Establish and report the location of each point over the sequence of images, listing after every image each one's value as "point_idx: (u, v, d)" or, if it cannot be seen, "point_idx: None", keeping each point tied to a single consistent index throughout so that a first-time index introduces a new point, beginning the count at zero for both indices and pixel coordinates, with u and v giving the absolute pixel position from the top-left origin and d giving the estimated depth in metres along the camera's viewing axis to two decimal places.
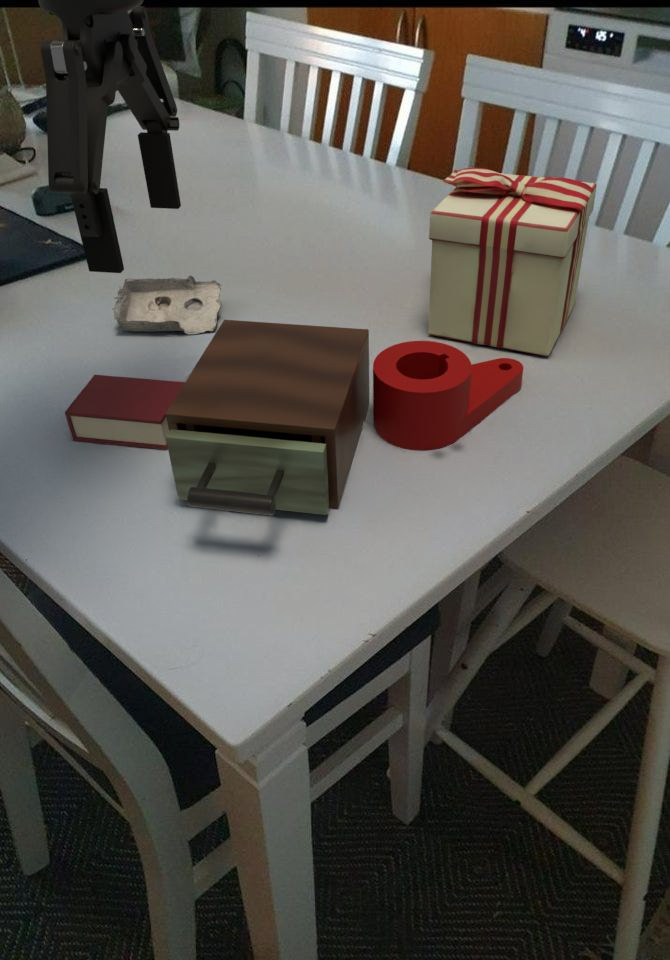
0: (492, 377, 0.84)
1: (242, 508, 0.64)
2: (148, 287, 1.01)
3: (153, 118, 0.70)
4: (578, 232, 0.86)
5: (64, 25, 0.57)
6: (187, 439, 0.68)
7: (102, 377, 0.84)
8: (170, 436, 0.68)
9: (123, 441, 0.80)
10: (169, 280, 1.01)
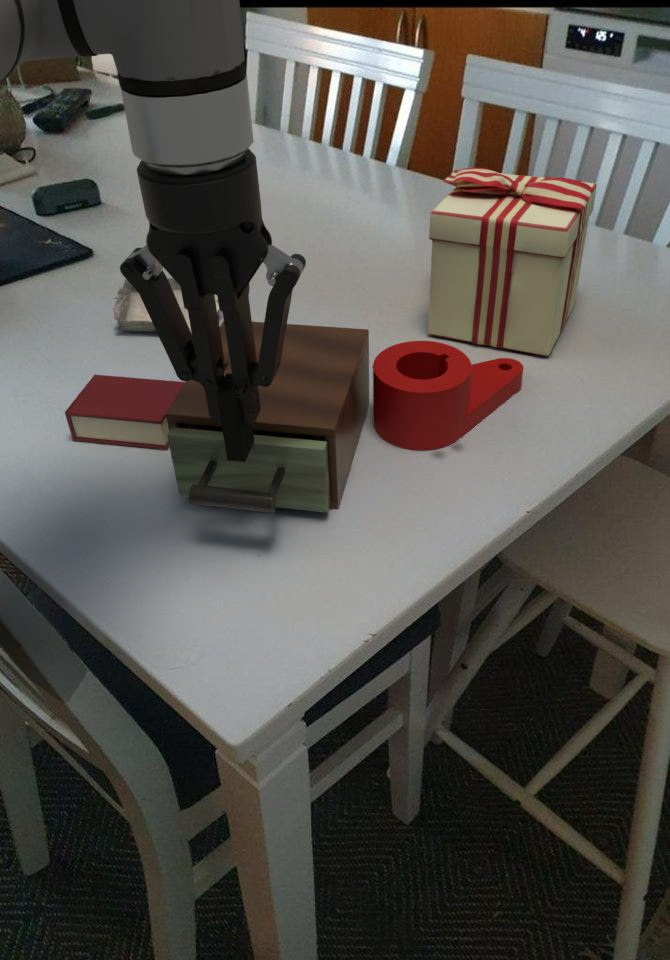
0: (492, 377, 0.84)
1: (243, 506, 0.65)
2: None
3: (220, 355, 0.61)
4: (578, 232, 0.86)
5: (257, 227, 0.52)
6: (188, 437, 0.68)
7: (102, 377, 0.84)
8: (171, 434, 0.68)
9: (123, 441, 0.80)
10: (169, 280, 1.01)
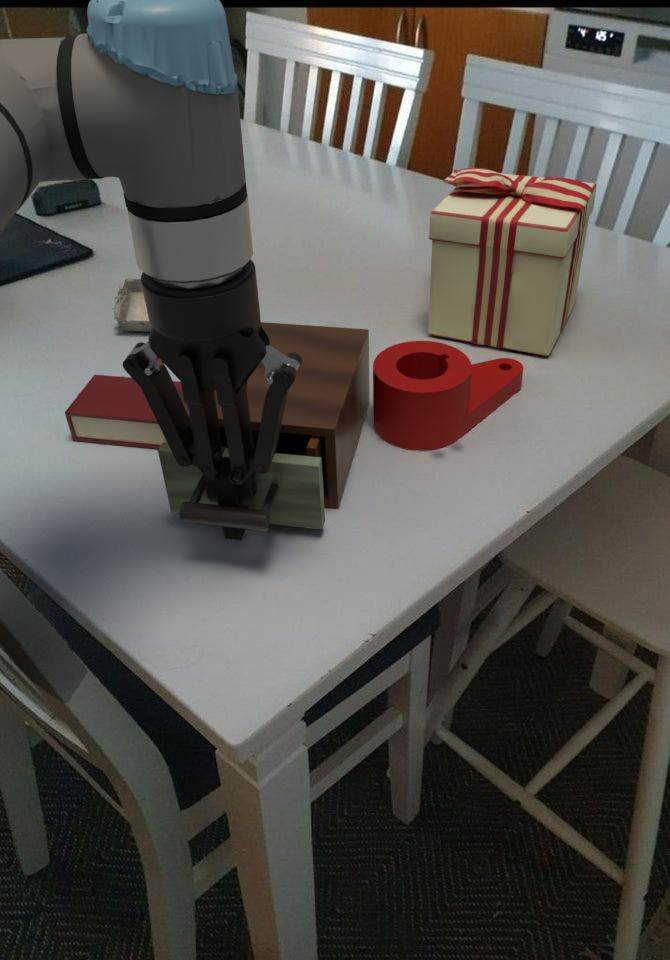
0: (492, 377, 0.84)
1: (236, 524, 0.63)
2: None
3: (218, 441, 0.63)
4: (578, 232, 0.86)
5: (255, 331, 0.54)
6: None
7: (102, 377, 0.84)
8: (162, 449, 0.67)
9: (123, 441, 0.80)
10: None
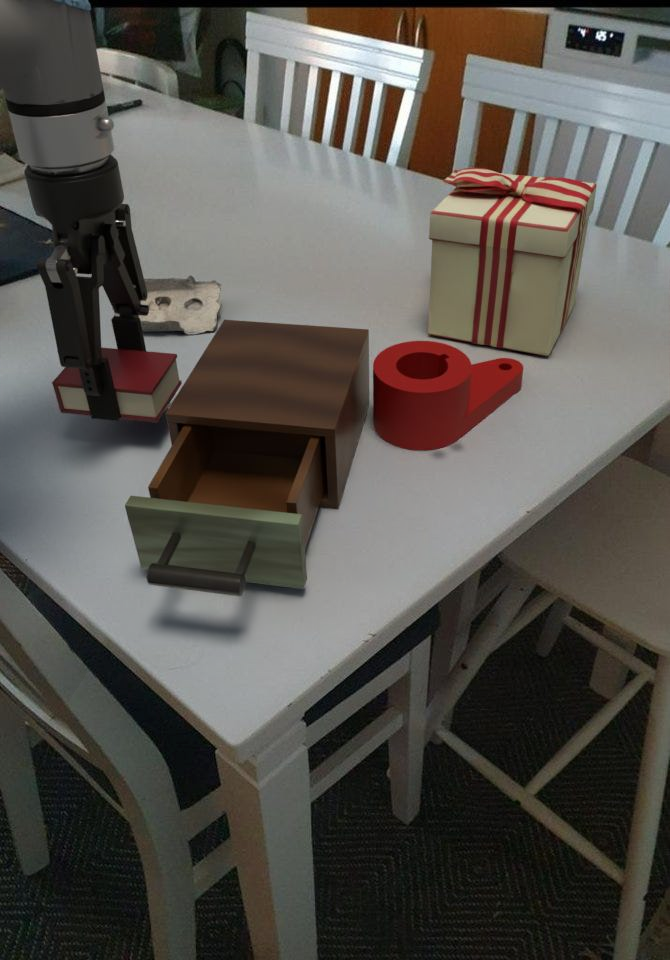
0: (492, 377, 0.84)
1: (208, 589, 0.58)
2: (148, 286, 1.01)
3: (125, 302, 0.78)
4: (578, 232, 0.86)
5: (54, 228, 0.66)
6: (148, 508, 0.61)
7: None
8: (130, 504, 0.61)
9: None
10: (169, 280, 1.01)
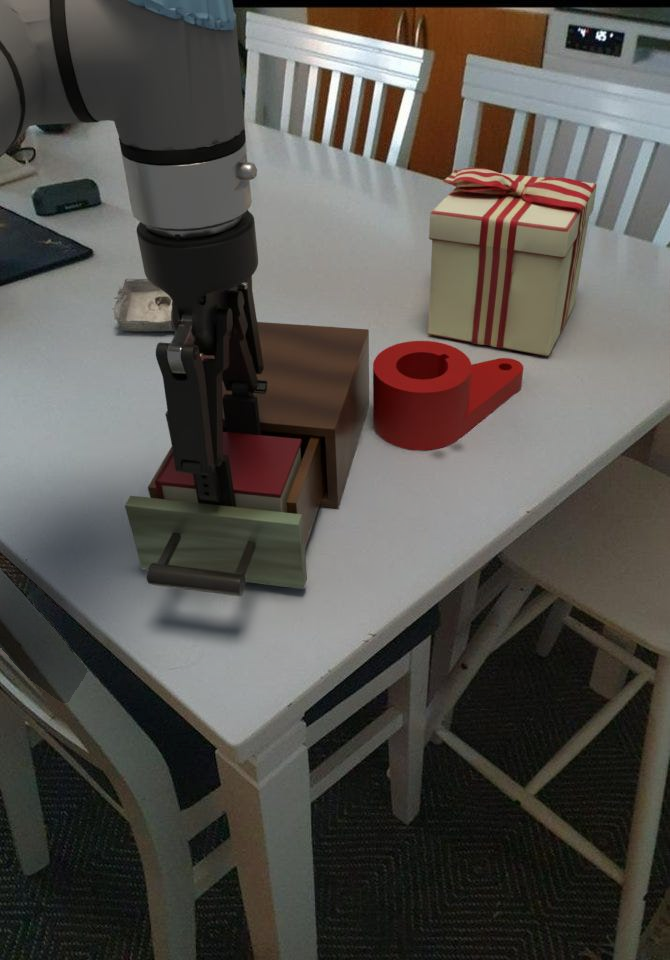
0: (492, 377, 0.84)
1: (208, 589, 0.58)
2: (148, 286, 1.01)
3: (241, 379, 0.63)
4: (578, 232, 0.86)
5: (175, 303, 0.51)
6: (148, 508, 0.61)
7: None
8: (130, 504, 0.61)
9: None
10: None
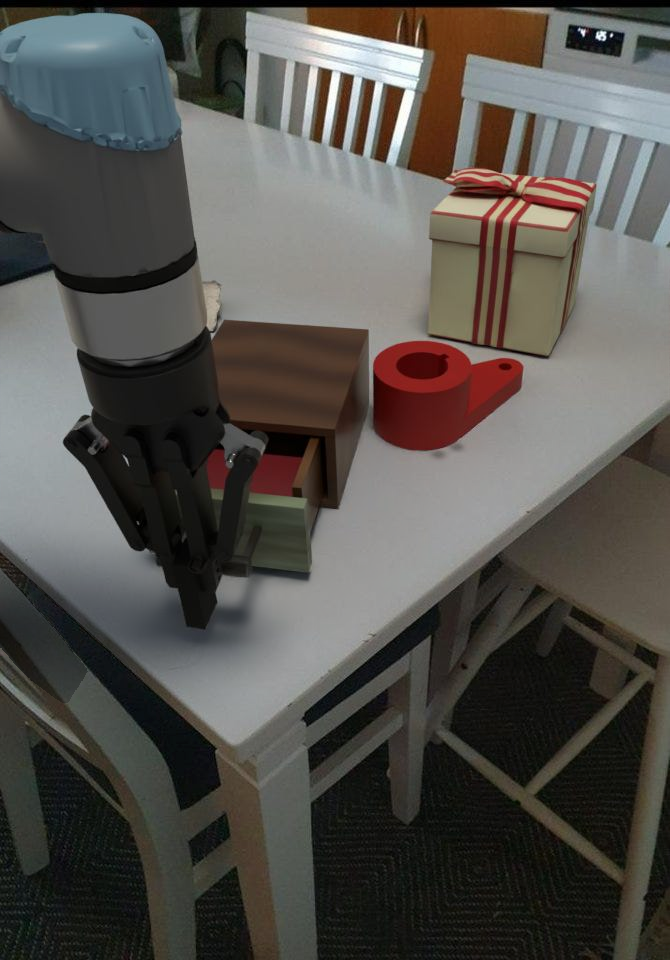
0: (492, 377, 0.84)
1: None
2: None
3: (176, 523, 0.55)
4: (578, 232, 0.86)
5: (212, 410, 0.47)
6: None
7: None
8: None
9: None
10: None
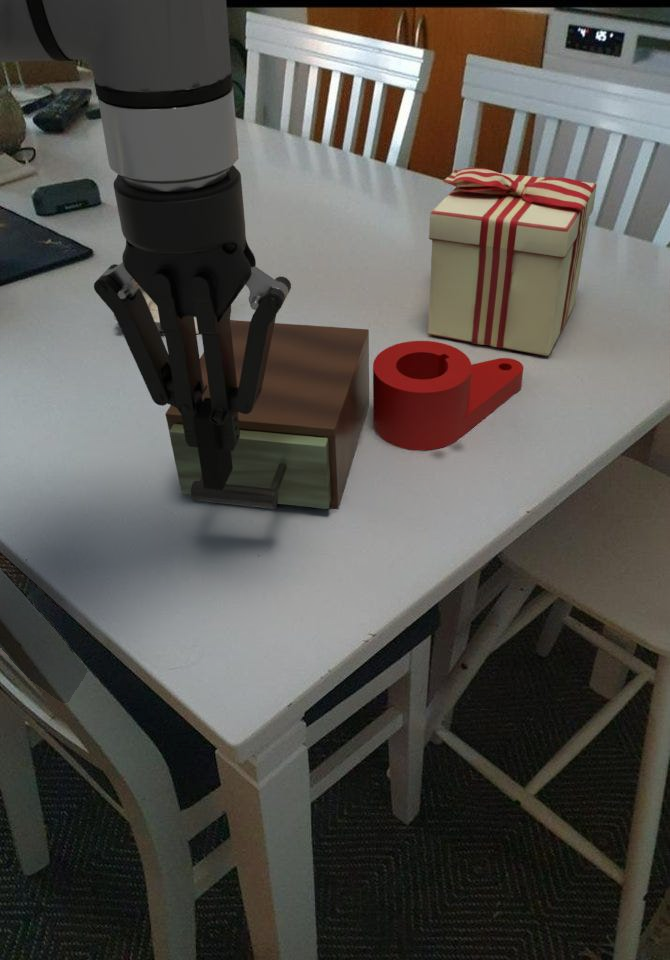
0: (492, 377, 0.84)
1: (245, 502, 0.65)
2: None
3: (198, 378, 0.58)
4: (578, 232, 0.86)
5: (240, 248, 0.49)
6: None
7: None
8: (173, 430, 0.69)
9: None
10: None
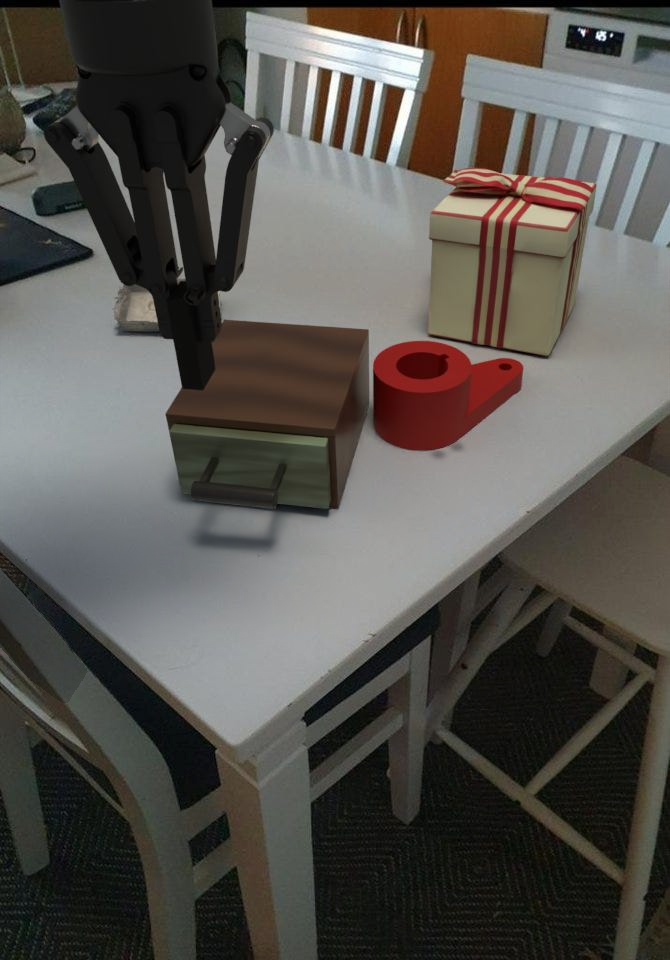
0: (492, 377, 0.84)
1: (245, 502, 0.65)
2: None
3: (171, 254, 0.50)
4: (578, 232, 0.86)
5: (211, 74, 0.42)
6: (190, 433, 0.68)
7: None
8: (173, 430, 0.69)
9: None
10: None
